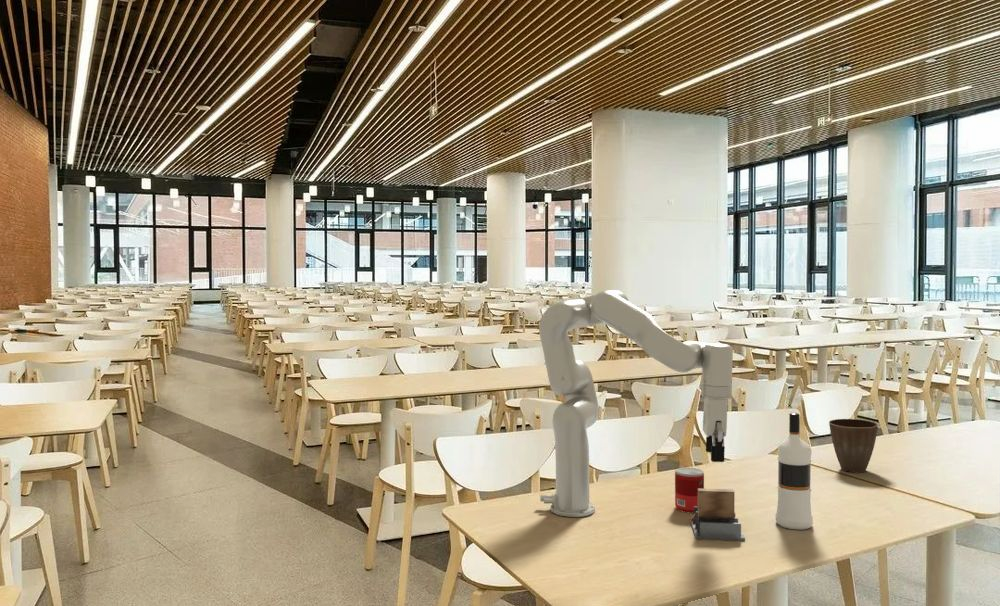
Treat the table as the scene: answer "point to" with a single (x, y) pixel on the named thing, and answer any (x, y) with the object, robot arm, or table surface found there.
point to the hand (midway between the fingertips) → (714, 456)
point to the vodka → (794, 480)
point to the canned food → (687, 488)
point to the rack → (716, 527)
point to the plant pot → (853, 442)
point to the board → (716, 502)
